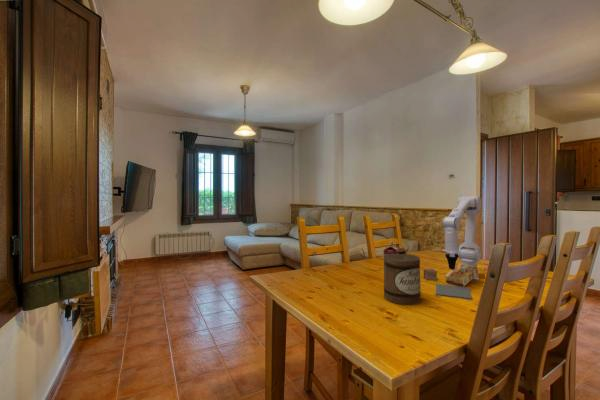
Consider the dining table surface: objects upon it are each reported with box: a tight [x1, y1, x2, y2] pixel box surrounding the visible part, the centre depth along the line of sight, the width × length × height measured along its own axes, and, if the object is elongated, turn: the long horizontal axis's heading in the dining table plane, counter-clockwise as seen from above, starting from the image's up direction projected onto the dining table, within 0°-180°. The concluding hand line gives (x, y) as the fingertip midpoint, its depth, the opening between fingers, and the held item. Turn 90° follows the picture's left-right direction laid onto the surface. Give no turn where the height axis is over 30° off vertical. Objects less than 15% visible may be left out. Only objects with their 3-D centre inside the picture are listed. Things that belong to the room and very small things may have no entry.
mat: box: [435, 283, 473, 301], centre depth 129 cm, size 16×14×1 cm
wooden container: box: [383, 247, 422, 306], centre depth 121 cm, size 15×15×22 cm
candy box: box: [444, 262, 479, 287], centre depth 142 cm, size 9×4×15 cm
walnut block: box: [423, 268, 438, 282], centre depth 149 cm, size 5×5×5 cm
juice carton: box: [383, 241, 400, 257], centre depth 135 cm, size 7×7×22 cm
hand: (451, 269), depth 137 cm, fingers closed
